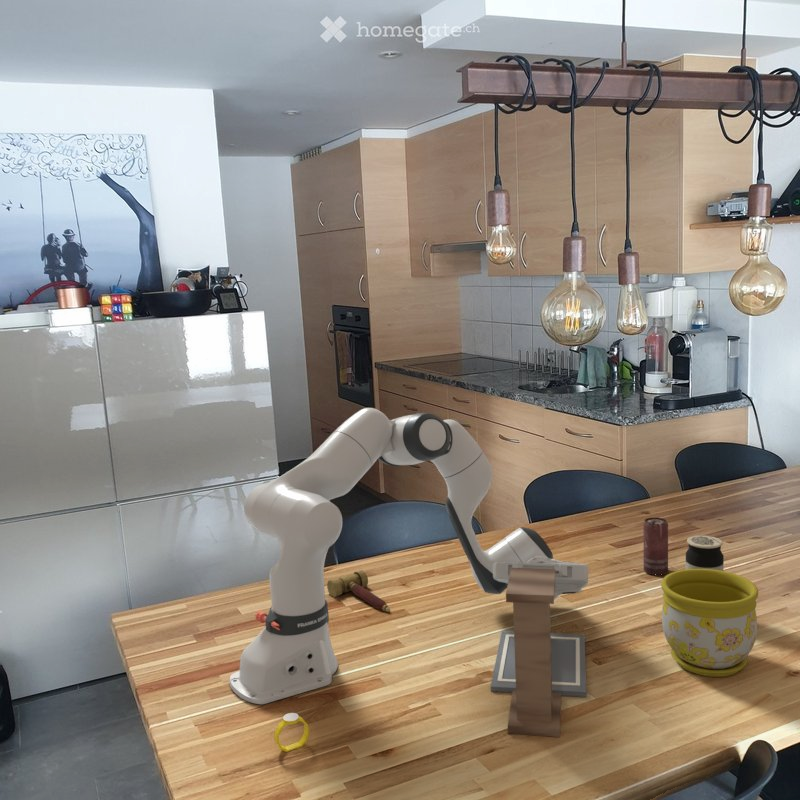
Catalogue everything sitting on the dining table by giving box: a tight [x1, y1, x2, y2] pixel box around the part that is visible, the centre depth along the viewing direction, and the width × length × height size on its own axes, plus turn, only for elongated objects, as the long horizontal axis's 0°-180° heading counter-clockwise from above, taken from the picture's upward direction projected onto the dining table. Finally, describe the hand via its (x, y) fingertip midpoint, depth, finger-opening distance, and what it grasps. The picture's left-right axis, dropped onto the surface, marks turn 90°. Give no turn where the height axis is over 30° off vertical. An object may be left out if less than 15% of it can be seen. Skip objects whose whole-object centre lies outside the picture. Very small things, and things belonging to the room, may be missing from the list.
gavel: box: [326, 569, 391, 613], centre depth 201 cm, size 21×5×10 cm
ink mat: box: [490, 630, 587, 698], centre depth 164 cm, size 24×18×1 cm
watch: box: [273, 712, 310, 753], centre depth 139 cm, size 6×3×6 cm, turn 119°
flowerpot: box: [660, 568, 759, 678], centre depth 160 cm, size 18×18×16 cm
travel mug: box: [685, 535, 725, 571], centre depth 180 cm, size 8×8×18 cm
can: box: [643, 517, 669, 576], centre depth 207 cm, size 6×6×14 cm
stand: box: [505, 568, 562, 738], centre depth 143 cm, size 12×9×26 cm
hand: (538, 567), depth 165 cm, fingers open, 6 cm apart
